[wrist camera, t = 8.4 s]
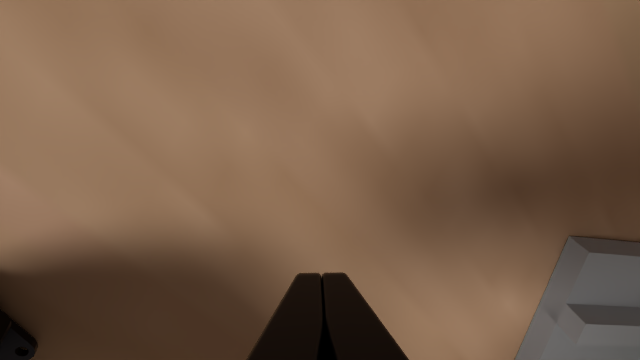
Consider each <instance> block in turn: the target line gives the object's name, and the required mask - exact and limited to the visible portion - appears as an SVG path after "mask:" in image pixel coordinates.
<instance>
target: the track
mask: <svg viewBox="0 0 640 360" xmlns="http://www.w3.org/2000/svg"><path fill="white" fill-rule="evenodd" d="M515 360H640V243H639V242H628V241H617V240H607V239H596V238H585V237H574V236H569V237H568V239H567V242H566V244H565V246H564V249H563V251H562V253H561V255H560V258H559V260H558V262H557V264H556V267H555V269H554V271H553V274H552V276H551V278H550V280H549V283H548V285H547V287H546V290H545V292H544V294H543V296H542V299H541V301H540V303H539V306H538V308H537V310H536V312H535V315H534V317H533V319H532V321H531V324H530V326H529V328H528V331H527V333H526V335H525V337H524V340H523V342H522V344H521V347H520V349H519V351H518V353H517V356H516V358H515Z"/></svg>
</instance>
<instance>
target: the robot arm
mask: <svg viewBox="0 0 640 360" xmlns="http://www.w3.org/2000/svg"><path fill="white" fill-rule="evenodd" d="M20 347H25V348H27V350H25V349H21V348H20ZM37 347H38V343H37V341H36V340H35V339H34V338H33V337H32V336H31V335H30V334H28V333H27V332H26V331H25V330H24V329H23V328H21V327H20V326H19V325H18V324H17V323H16V322H15V321H13V320H12V319H11V318H10V317H9V316H8V315H6V314H5V313H4V312H3V311H2V310H1V309H0V360H29V359H31V358H32V357H33V356H34V354H35V352H36V350H37ZM246 360H409V359H408V358H407V356H406V355H405V354H404V352H403V351H402V350H401V348H400V347H399V345H398V344H397V343H396V341H395V340H394V339H393V337H392V336H391V335H390V333H389V332H388V330H387V329H386V328H385V326H384V325H383V324H382V322H381V321H380V320H379V318H378V317H377V315H376V314H375V313H374V311H373V310H372V309H371V307H370V306H369V305H368V303H367V302H366V300H365V299H364V298H363V296H362V295H361V294H360V292H359V291H358V290H357V288H356V287H355V286H354V284H353V283H352V281H351V280H350V279H349V277H348V276H347V275H346V274H345V273H324V274H323V275H322V278H321V275H320V274H319V273H299V274H297V276H296V277H295V279H294V280H293V282H292V284H291V285H290V287H289V289H288V290H287V292H286V294H285V295H284V297H283V299H282V300H281V302H280V304H279V305H278V307H277V309H276V311H275V312H274V314H273V316H272V317H271V319H270V321H269V322H268V324H267V326H266V327H265V329H264V331H263V332H262V334H261V336H260V338H259V339H258V341H257V343H256V344H255V346H254V348H253V349H252V351H251V353H250V354H249V356H248V358H247V359H246Z"/></svg>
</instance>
